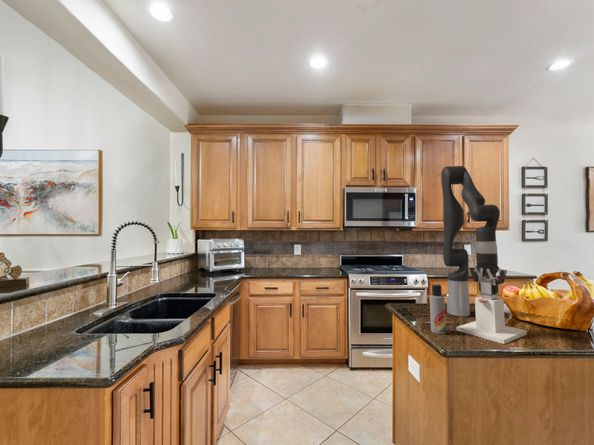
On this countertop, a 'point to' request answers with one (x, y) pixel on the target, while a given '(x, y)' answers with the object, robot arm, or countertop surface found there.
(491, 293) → the post
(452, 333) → the countertop surface
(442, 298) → the lotion bottle
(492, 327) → the stand
